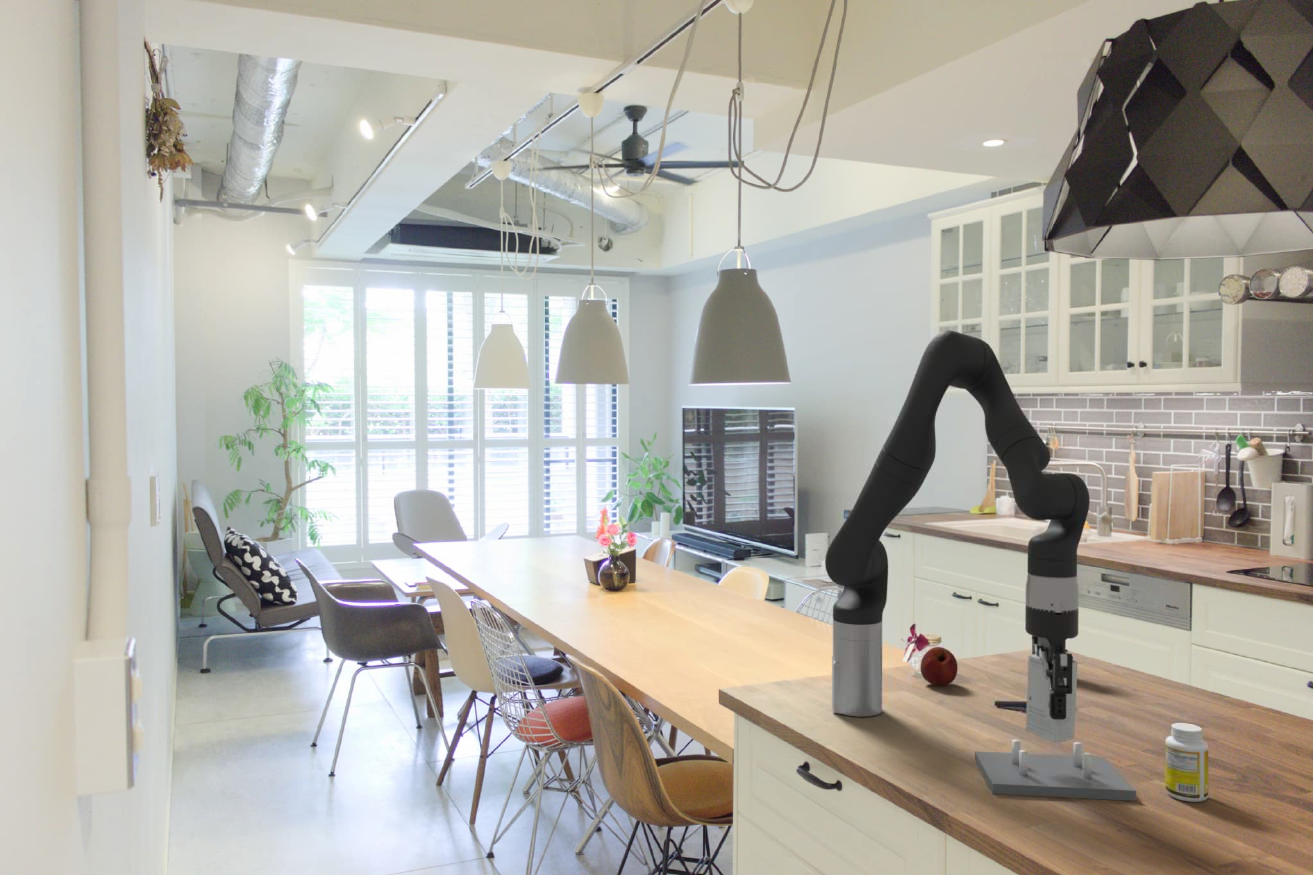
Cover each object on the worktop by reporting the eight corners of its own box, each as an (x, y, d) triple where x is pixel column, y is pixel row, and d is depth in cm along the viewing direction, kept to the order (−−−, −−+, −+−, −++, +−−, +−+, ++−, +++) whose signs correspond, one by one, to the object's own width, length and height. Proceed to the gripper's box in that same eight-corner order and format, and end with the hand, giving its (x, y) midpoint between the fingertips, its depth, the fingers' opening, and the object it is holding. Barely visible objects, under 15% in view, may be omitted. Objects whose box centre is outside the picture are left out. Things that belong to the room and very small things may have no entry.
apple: (919, 688, 198) (919, 649, 198) (920, 678, 206) (921, 641, 206) (957, 691, 196) (957, 652, 196) (957, 681, 204) (957, 643, 203)
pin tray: (992, 793, 143) (992, 760, 143) (974, 760, 156) (974, 729, 156) (1135, 800, 140) (1136, 766, 140) (1104, 766, 154) (1105, 735, 154)
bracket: (1016, 733, 172) (1017, 717, 172) (994, 708, 187) (994, 693, 187) (1100, 736, 171) (1100, 720, 171) (1071, 710, 186) (1071, 696, 186)
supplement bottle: (1189, 787, 145) (1190, 719, 145) (1217, 802, 139) (1217, 731, 139) (1156, 790, 144) (1156, 721, 144) (1182, 804, 139) (1183, 733, 138)
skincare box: (1024, 732, 150) (1024, 654, 150) (1045, 728, 152) (1045, 651, 152) (1056, 744, 144) (1057, 663, 144) (1077, 739, 146) (1078, 660, 146)
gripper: (1015, 594, 155) (1014, 696, 156) (1038, 612, 141) (1037, 724, 141) (1064, 595, 154) (1063, 698, 155) (1092, 613, 140) (1091, 726, 140)
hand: (1050, 710), depth 148 cm, fingers closed on skincare box, 7 cm apart
